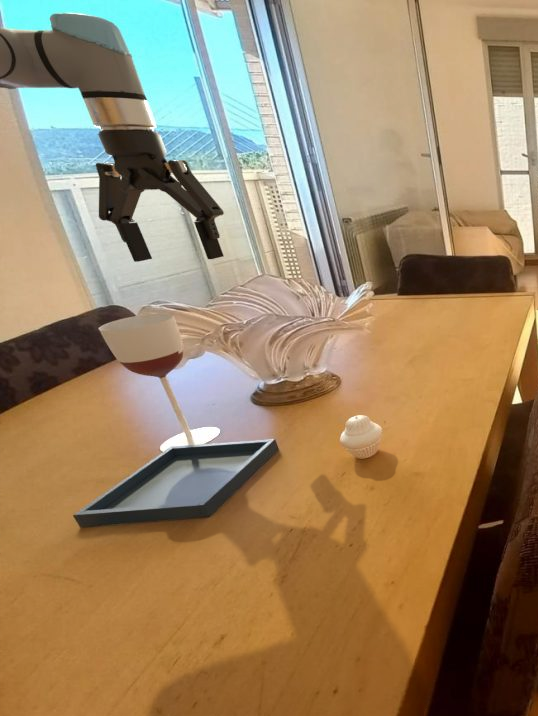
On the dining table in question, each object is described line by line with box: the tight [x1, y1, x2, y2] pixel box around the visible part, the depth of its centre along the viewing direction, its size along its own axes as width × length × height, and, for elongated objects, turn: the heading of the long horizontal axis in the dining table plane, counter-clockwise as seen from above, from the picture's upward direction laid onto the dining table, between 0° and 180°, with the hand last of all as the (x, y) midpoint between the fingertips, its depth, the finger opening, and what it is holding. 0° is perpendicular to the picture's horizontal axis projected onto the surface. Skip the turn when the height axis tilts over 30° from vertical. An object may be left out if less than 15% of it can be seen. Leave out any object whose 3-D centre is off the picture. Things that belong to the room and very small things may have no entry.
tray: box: [72, 438, 280, 528], centre depth 71 cm, size 17×17×2 cm
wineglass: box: [98, 312, 221, 453], centre depth 80 cm, size 9×10×22 cm
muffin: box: [339, 414, 383, 460], centre depth 77 cm, size 6×6×7 cm
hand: (179, 259), depth 86 cm, fingers open, 13 cm apart
